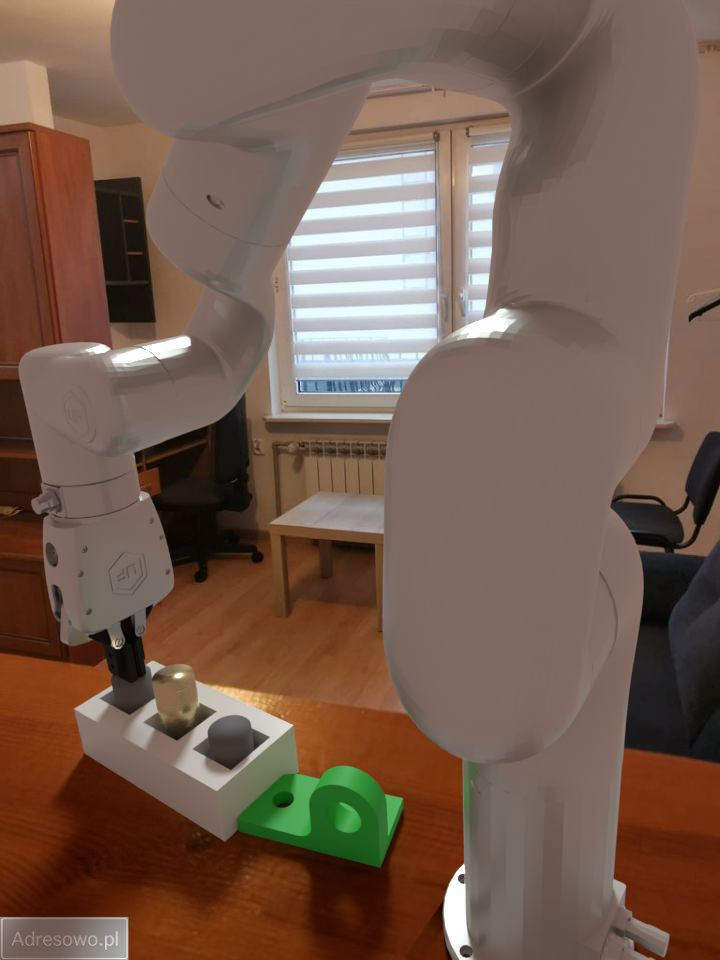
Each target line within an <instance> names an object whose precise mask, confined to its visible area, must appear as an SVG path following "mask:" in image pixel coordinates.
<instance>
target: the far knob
mask: <svg viewBox="0 0 720 960" xmlns="http://www.w3.org/2000/svg"><path fill="white" fill-rule="evenodd" d="M145 668H146V674H145V675H144V676H142V677H138V678H137V680H136V681H134V682H133V683H130V682H128V681H126V680H124V679H122V678H120V677H118V676H115V675H113V674H111V675H112V676H111V677H110V681H111V682H110V683H111V686H112V688H113V693H114V697H115V702H116V707H117V709H119V710H121V711H123V712H125V713H127V714H128V715H131V714H132V713H134V712H135V711H137V710H138V709H140V708H141V707H143V706H144V705H146V704H147V703H149V702H150V701H152V700H153V699H155V695H154V690H153V684H152V675H151V669H150V668H149V667H148V666H147V665H146V664H145Z"/></svg>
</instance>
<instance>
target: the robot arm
mask: <svg viewBox="0 0 720 960" xmlns="http://www.w3.org/2000/svg"><path fill="white" fill-rule="evenodd" d="M113 5H114V6H113V8H112V13H111V21H110V28H109V38H110V39H109V41H110V42H109V43H110V44H109V45H110V57H111V58H110V59H111V63H112V67H113V72H114V76H115V79H116V81H117V84H118V87H119V90H120V93H121V95H122V96H123V98H124V100H125V102H126V104H127V105H128V106H129V108H130V109H131V111H132V112H133V113H134V114H135V115H136V116H137V117H138V118H139V120H141V121H142V123H144V125H146V126H148V127H149V128H151V129H152V130H154V131H156V132H157V133H159V134H161V135H163V136H167V137H169V138H173V140H172V143H171V145H170V146H169V150H168V153H167V155H166V158H165V160H164V162H163V165H162V167H161V170H160V173H159V175H158V178H157V180H156V183H155V186H154V188H153V191H152V193H151V196H150V197H149V200H148V202H147V204H146V205H147V206H146V210H145V225H146V229H147V232H148V235H149V236H150V239H151V241H152V242H153V244H154V245H155V247H156V248H157V250H158V251H159V252H160V253H161V254H162V256H163V257H164V258H165V259H166V260H167V261H169V263H171V264H172V265H173V266H174V267H176V268H177V270H179V271H181V273H182V274H184V275H186V276H187V277H188V278H190V279H192V280H193V281H196V283H198V284H200V285H202V286H203V288H202V289H203V290H202V292H201V294H200V298H199V300H198V302H197V304H196V306H195V309H194V311H193V313H192V314H191V316H190V319H189V320H188V323H187V324H186V326H185V328H184V329H183V330H182V332H181V333H180V334H179V335H177V336H172V337H168V338H161V339H157V340H151V341H149V342H144V343H138V344H135V345H130V346H126V347H123V348H116V349H111V347H110V346H108V345H105V343H103V344H102V343H99V342H94V341H93V342H90V341H89V342H88V341H87V342H85V341H84V342H83V341H81V342H80V341H78V342H77V341H76V342H66V343H65V342H63V343H56V344H51V345H46V346H42V347H38V348H35V349H34V348H33V349H31V350H30V351H27V352H26V353H24V355H23V356H22V357H21V359H20V361H19V363H18V364H19V365H18V377H19V382H20V386H21V391H22V394H23V400H24V404H25V409H26V413H27V418H28V422H29V427H30V431H31V436H32V440H33V441H32V442H33V445H34V449H35V455H36V460H37V463H38V468H39V473H40V477H41V483H40V486H41V487H40V489H41V491H42V493H40V494H39V496H37V497H35V498H32V499H31V501H30V504H31V507H32V510H33V512H34V513H35V514H37V515H41V514H44V513H47V516H45V517H44V518H43V523H42V549H43V550H42V551H43V565H44V574H45V580H46V586H47V593H48V599H49V601H50V602H49V603H50V607H51V611H52V614H53V616H54V618H55V620H56V621H57V622H58V623H60V631H59V632H60V635H59V636H60V641H61V642H62V643H63V644H66V645H68V646H69V647H75V646H79V645H80V646H81V645H82V644H86V643H89V642H90V641H95V642H97V643H101V644H102V645H103V649H104V654H105V658H106V659H105V660H106V664H107V669H108V671H109V673H110V674H111V675H115V676H118V677H120V678H122V679H124V680H126V681H128V682H130V683H133V682H134V681H136V680H137V678H138V677H142V676H144V675H145V674H146V668H145V665H146V663H145V660H146V655H145V649H144V643H143V635H145V633H146V631H147V620H148V618H149V616H150V614H151V612H152V610H153V607H155V606H156V605H157V604H159V603H160V602H161V601H162V600H163V599H165V598H166V596H168V594H170V593H171V591H172V590H173V588H174V585H175V577H174V576H175V575H174V569H173V564H172V559H171V556H170V555H171V554H170V552H169V546H168V543H167V539H166V534H165V532H164V528H163V525H162V523H161V520H160V517H159V514H158V512H157V510H156V506H155V504H154V503H153V500H152V498H151V496H150V494H149V493H148V492H146V491H142V490H141V488H140V487H141V486H140V482H139V481H140V480H139V473H138V469H137V464H136V457H135V453H136V452H140V451H141V450H144V449H148V448H150V447H153V446H155V445H158V444H161V443H165V441H168V440H171V439H174V438H176V437H179V436H182V435H184V434H187V433H190V432H192V431H195V430H198V429H201V428H204V427H206V426H209V425H211V424H215V423H216V422H218V421H219V420H221V419H222V418H224V417H225V416H226V415H227V414H228V413H229V412H230V411H232V410H233V409H234V407H236V405H237V404H238V402H239V401H240V400H241V398H242V397H243V395H245V393H246V391H247V390H248V388H249V386H250V385H251V383H252V382H253V379H255V376H256V375H257V373H258V371H259V370H260V369H261V366H262V365H263V363H264V362H265V359H266V357H267V355H268V352H270V351H269V350H270V348H271V346H272V343H273V338H274V332H275V324H276V323H275V320H276V318H275V317H276V297H275V289H274V286H273V281H272V275H273V274H274V271H275V269H276V267H277V265H278V263H279V261H280V260H281V258H282V256H283V254H284V252H285V251H286V249H287V247H288V246H289V244H290V242H291V240H292V238H293V236H294V235H295V232H296V230H297V229H298V227H299V225H300V223H301V221H302V219H303V218H304V216H305V215H306V212H307V211H308V209H309V207H310V205H311V204H312V202H313V199H314V198H315V196H316V194H317V192H318V191H319V189H320V187H321V185H322V184H323V181H324V180H325V178H326V176H327V175H328V173H329V171H330V169H331V167H332V165H333V164H334V162H335V160H336V159H337V157H338V154H339V153H340V151H341V149H342V147H343V145H345V142H346V140H347V138H348V136H349V135H350V133H351V132H352V130H353V127H354V126H355V124H356V121H357V119H358V118H359V116H360V114H361V112H362V110H363V108H364V106H365V104H366V101H367V99H368V96H369V94H370V91H371V87H372V85H373V84H374V83H377V82H381V81H386V80H392V79H399V80H405V81H409V82H412V83H413V82H414V83H417V84H420V85H425V86H428V87H433V88H436V89H440V90H443V91H449V92H456V93H460V94H467V95H470V96H475V97H478V98H482V99H486V100H489V101H492V102H496V103H497V104H500V105H501V106H502V107H503V108H504V109H505V110H506V112H507V113H508V116H509V120H510V128H511V131H510V135H509V141H508V143H507V148H506V151H505V154H504V157H503V162H502V164H501V168H500V173H499V175H498V180H497V185H496V190H495V196H494V201H493V202H494V203H493V209H492V221H491V226H492V227H491V256H490V265H489V276H488V282H487V283H488V285H487V295H486V300H485V305H484V306H485V307H484V311H483V316H482V318H481V319H480V320H476V321H474V322H471V323H469V324H466V325H465V326H462V327H460V328H458V329H457V330H455V331H453V332H452V333H450V334H448V335H447V336H445V338H443V339H441V340H440V341H438V342H437V343H436V344H435V345H434V346H433V347H431V348H430V350H429V351H427V352H426V353H425V355H424V356H422V358H421V359H420V360H419V361H418V362H417V364H416V365H415V367H414V368H413V369H412V371H411V372H410V374H409V375H408V378H407V379H406V381H405V383H404V384H403V387H402V389H401V391H400V394H399V396H398V398H397V402H396V404H395V407H394V410H393V413H392V416H391V420H390V425H389V427H388V433H387V439H386V440H387V441H386V449H385V461H384V462H385V464H384V486H383V487H384V489H383V490H384V494H383V495H384V497H383V498H384V500H383V501H384V502H383V546H382V547H383V552H382V555H383V556H382V557H383V558H382V638H383V639H382V640H383V641H382V642H383V648H384V649H383V650H384V655H385V660H386V666H387V670H388V674H389V677H390V680H391V683H392V687H393V689H394V691H395V692H396V696H397V698H398V700H399V701H400V703H401V704H402V707H403V710H405V712H406V713H407V714H408V716H409V718H410V720H411V721H412V722H413V723H414V724H415V725H416V727H417V728H418V729H419V731H421V733H423V735H425V736H426V738H428V739H429V740H430V741H432V743H434V744H435V745H437V746H438V747H440V748H441V749H442V750H444V751H446V752H447V753H449V754H450V755H453V756H455V757H457V758H459V759H462V763H461V764H462V766H461V767H462V804H463V805H462V811H463V812H462V813H463V814H462V815H463V818H462V819H463V864H462V865H461V866H460V867H459V868H458V869H457V870H456V871H455V873H453V876H452V877H451V880H450V881H449V883H448V885H447V888H446V891H445V894H444V897H443V902H442V903H443V904H442V931H443V935H444V939H445V945H446V948H447V950H448V952H449V955H450V957H451V960H656V959H655V958H654V957H647V956H646V955H644V954H642V953H640V952H638V951H636V950H635V943H637V944H639V945H641V946H642V947H643V948H644V949H647V951H650V952H652V953H654V954H655V955H658V956H660V957H662V958H665V956H666V954H667V950H668V948H669V943H670V933H668V932H666V931H664V930H661V929H660V928H657V927H656V926H653V925H651V924H647V923H645V922H642V921H641V920H638V919H636V918H635V917H633V912H632V911H631V910H629V909H628V908H626V906H625V905H626V892H627V891H626V890H627V885H626V884H625V883H624V882H622V881H619V880H617V879H615V878H614V876H615V866H616V865H615V861H616V849H617V848H616V847H617V836H618V824H619V822H618V821H619V810H620V809H619V808H620V797H621V796H620V795H621V782H622V769H623V762H624V753H625V752H624V750H625V741H626V740H625V738H626V728H627V727H626V726H627V725H626V724H627V717H628V706H629V695H630V690H631V689H630V687H631V683H632V681H631V680H632V673H633V667H634V663H635V662H634V661H635V656H636V655H635V654H636V650H637V643H638V637H639V631H640V624H641V618H642V611H643V605H644V604H643V602H644V601H643V600H644V571H643V563H642V558H641V555H640V550H639V548H638V545H637V543H636V539H635V538H634V536H633V534H632V532H631V531H630V529H629V527H628V526H627V525H626V523H625V521H624V520H623V518H621V517H620V515H619V514H618V513H617V512H616V511H615V510H614V509H612V508H611V504H612V502H613V501H612V500H613V497H614V493H615V491H616V487H618V485H619V484H620V482H621V481H622V480H623V478H624V477H625V476H626V474H627V473H628V472H629V470H630V469H631V468H632V466H633V465H634V464H635V463H636V461H637V460H638V459H639V457H640V456H641V454H642V453H643V451H644V450H645V449H646V447H647V446H648V444H649V442H650V441H651V439H652V436H653V434H654V431H655V428H656V425H657V424H658V420H659V418H660V417H659V416H660V414H661V413H660V412H661V408H662V407H661V406H662V399H663V397H662V396H663V387H664V376H665V374H664V373H665V367H666V359H667V358H666V357H667V348H668V342H669V336H670V331H671V330H670V329H671V323H672V317H673V312H674V311H673V310H674V304H675V303H674V302H675V297H676V290H677V283H678V277H679V276H678V275H679V273H680V271H679V270H680V264H681V260H682V259H681V258H682V251H683V250H682V249H683V241H684V240H683V238H684V229H685V222H686V215H687V214H686V213H687V208H688V199H689V191H690V185H691V178H692V173H693V165H694V160H695V159H694V158H695V151H696V150H695V149H696V143H697V136H698V125H699V119H700V118H699V117H700V103H701V60H700V51H699V44H698V39H697V34H696V29H695V25H694V23H693V20H692V15H691V12H690V10H689V8H688V5H687V3H686V0H114V4H113Z"/></svg>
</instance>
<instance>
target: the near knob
mask: <svg viewBox="0 0 720 960" xmlns="http://www.w3.org/2000/svg"><path fill="white" fill-rule="evenodd" d="M208 739H209V745H210V752H211V758H212V760H213V761H215V762H217V763H219V764H221V765H222V766H224V767H226V768H228V769H230V770H232V769H233V768H234V767H235V766H237V765H238V764H239V763H240V762H241V761H243V760H244V759H245V758H246V757H247V756H248V755H250V754H251V753H252V752H253V751H254V743H253V735H252V728H251V723H250V721H249V720H248V719H247V718H246V717H243V716H240V715H229V716H225V717H222V718H220V719H218V720H216V721H215V722H213V723H212V724H211V726H210V727H209V729H208Z"/></svg>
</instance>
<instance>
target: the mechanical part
mask: <svg viewBox="0 0 720 960" xmlns="http://www.w3.org/2000/svg"><path fill="white" fill-rule="evenodd" d="M284 803H287V804H288V803H289V804H290V805H288V806H285V807H278V806H279V805H281V804H284ZM403 810H404V798H403V797H399V796H395V795H390V794H385V792H384V790H383V788H382V787H381V785H380V784H379V783H378V782H377V781H376V780H375V779H374V778H373V777H372V776H371V775H370V774H368V773H367V772H365V771H363V770H362V769H359V768H356V767H354V766H349V765H337V766H333V767H330V768H329V769H327V770H326V771H324V772H323V774H322V775H321V777H320V778H317V777H314V776H308V775H304V774H299V773H298V774H284V775H282V776H281V777H280V778H279V779H277V780H276V781H275V782H274V783H273V784H272V785H271V786H270V787H269V788H268V789H267V790H265V791H264V792H263V793H262V794H261V795H260V796H259V797H258V798H257V799H256V800H255V801H254V802H252V803H251V804H250V805H249V806H248V807H247V808H246V809H245V810H244V811H243V812H242V813H241V815H240V817H239V818H238V827H239V829H238V831H239V832H240V833H243V834H247V835H252V836H255V837H259V838H263V839H267V840H270V841H275V842H279V843H283V844H286V845H291V846H295V847H297V848H298V847H299V848H301V849H302V848H303V849H305V850H310V851H313V852H318V853H322V854H327V855H330V856H332V857H337V858H342V859H345V860H348V861H354V862H358V863H361V864H365V865H369V866H372V867H377V868H382V866H383V865H382V864H383V862H384V859H385V857H386V854H387V852H388V849H389V847H390V844H391V841H392V839H393V837H394V833H395V831H396V829H397V827H398V823H399V821H400V818H401V816H402V813H403Z"/></svg>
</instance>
